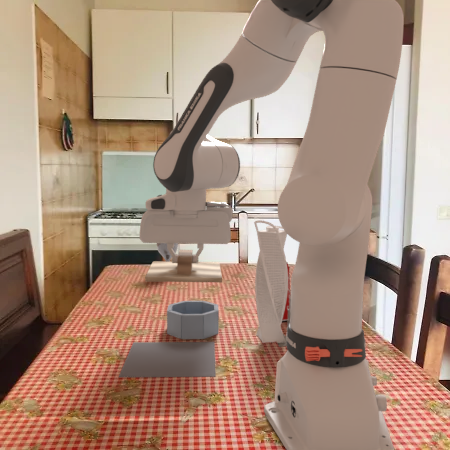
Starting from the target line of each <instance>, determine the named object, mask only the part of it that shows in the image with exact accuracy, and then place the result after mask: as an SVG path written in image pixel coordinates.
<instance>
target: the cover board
mask: <svg viewBox="0 0 450 450" xmlns="http://www.w3.org/2000/svg"><path fill="white" fill-rule="evenodd" d="M177 254H178V261H177V263H172V261H170V262H166V261H165V260H164V261H163V260H161V261H157V260H155V261H152V263H151V265H150V267H149V269H148V270H147V273H146V275H145V277H144V279H145V281H144V282H149V283H150V282H151V283H152V282H159V283H161V282H162V283H166V282H167V283H168V282H169V283H223V276H222V270H221V265H220V261H217V262H216V261H214V262H213V261H211V262H210V261H198V263H192V255H193V249H179V251H178V253H177Z"/></svg>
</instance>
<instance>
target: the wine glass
mask: <svg viewBox="0 0 450 450" xmlns="http://www.w3.org/2000/svg"><path fill="white" fill-rule="evenodd" d="M178 247H179V243H174V247H173V248H172V249H173V251H174V252H175V254H176V252H177V251H178V249H179V248H178ZM156 248H157V251H158V253H159V254H160V255H161V256H162V258H163V259H164V262H171V260H172V256H171V254H170V252H169V250H168V249H167V243H156Z"/></svg>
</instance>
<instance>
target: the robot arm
mask: <svg viewBox="0 0 450 450" xmlns="http://www.w3.org/2000/svg"><path fill="white" fill-rule="evenodd" d="M404 23H405V22H404V12H403V9H402V7H401V5H400V4H399V2H398V1H397V0H258V1H257V3H256V4H255V7H254V8H253V9H252V11H251V13H250V15H249V18H248V19H247V21H246V22H245V25H244V27H243V30H242V32H241V34H240V36H239V38H238V39H237V42H236V43H235V44H234V46H233V48H232V49H231V50H230V51H229V53H228V54H227V55H226V56H225V57H224V58H223V59H222V61H221V62H220V63H218V64H216V65H215V66H213V67H212V68H211V69H210V70H209V71H208V72H207V74H205V76H204V78H203V79H202V81H200V82H201V83H200V84H199V86H198V87H197V89H196V90H195V92H194V94H193V96H192V97H191V99H190V101H189V102H188V104H187V106H186V107H185V109H184V111H183V113H182V114H181V116H180V118H179V119H178V121H177V122H176V125H175V126H174V128H173V129H172V130H171V131H170V133H169V135H168V136H167V137H166V138H165V139H164V141H163V142H162V143H161V144H160V146H159V147H158V148H157V150H156V152H155V154H154V158H153V163H152V167H153V172H154V175H155V177H156V179H157V180H158V182H159V184H161V185H162V186H163V187H164V188H165V190H166V191H165V194H159V195H157V196H154V197H150V198H148V199H147V200H146V201H145V209H146V211H145V212H143V214H142V217H141V220H140V225H139V226H140V227H139V239H140V242H142V243H144V244H157V243H167V249H168V250H169V252H170V254H171V256H172V258H171V262H172V263H177V261H178V254H179V253H177V254H176V253H175V252H174V251H173V249H172V248H173V247H174V243H178V244H190V245H191V244H194V245H195V244H197V246H196V247H197V249H198V250H197V252H196V253H195V254H194V253H192V263H198V262H199V257H200V255H201V254H202V252H203V250H204V247H205V245H206V244H208V245H228V244H229V243H230V242H231V240H232V237H231V236H232V235H231V234H232V232H231V224H230V223H231V222H232V220H233V215H234V213H233V212H234V211H233V207H232V206H231V205H229V204H227V202H224V201H222V202H215V201H207V190H210V189H214V190H215V189H224V188H229V187H231V186H232V185H233V184H234V183H235V182H236V181H237V179H238V177H239V174H240V170H241V160H240V156H239V153H238V152H237V150H236V148H235V147H234V146H232V145H231V144H228V143H227V142H226V143H225V142H222V141H220V140H218V139H215V138H214V137H212V136H211V135H209V133H210V131H211V130H212V128H213V127H214V124H215V123H216V121H217V120H218V118H219V117H220V116H221V115H222V114H223V113H224V112H225V111H227V110H229V108H232V107H233V106H236V105H238V104H241V103H243V102H246V101H250V100H254V99H259V98H263V97H266V96H270V95H272V94H273V93H275V92H277V91H278V90H280V88H281V87H282V86H283V85H284V84H285V83H286V82H287V80H288V79H289V77H290V75H291V74H292V72H293V70H294V68H295V66H296V64H297V63H298V61H299V58H300V56H301V54H302V52H303V49H304V47H305V45H306V44H307V42H308V40H309V39H310V38H311V36H313V35H315V34H316V33H319V32H322V33H323V34H324V47H323V51H322V55H321V61H320V64H319V69H318V74H317V80H316V85H315V89H314V95H313V99H312V104H311V109H310V113H309V118H308V123H307V126H306V129H305V132H304V135H303V138H302V140H301V143H300V145H299V148H298V151H297V154H296V156H295V160H294V162H293V165H292V169H291V171H290V174H289V177H288V180H287V183H286V184H285V187H284V188H283V190H282V191H281V194H280V195H279V198H278V202H277V217H278V221H279V223H280V226H281V227H283V229H282V230H285V232H286V233H287V235H288V236H289V237H290V238H291V239H293V240H294V241H296V242H298V243H299V246H298V251H297V255H296V260H295V264H294V268H293V271H292V274H291V276H290V295H291V306H290V323H289V325H288V327H287V326H286V335H285V336H286V340H287V346H286V349H287V351H286V353H284V355H283V356H282V357H280V359H279V360H278V361H277V362H276V373H275V386H274V387H275V388H274V389H275V391H274V400H273V401H270V402H269V403H268V402H267V403H266V404H265V405H264V408H263V412H264V416H265V417H266V419H267V421H268V422H269V424H270V425H271V427H272V428H273V430H274V432H275V434H276V435H277V437H278V439H279V440H280V441H281V443H282V445H283V447H285V449H286V450H395V448H394V444H393V442H392V438H391V435H390V433H389V428H388V425H387V422H386V419H385V416H384V412H386V411H387V410H388V409H387V407H388V401H387V396H386V395H385V394H376V392H375V387H376V386H377V385H378V379H377V376H373V375H371V372H370V367H369V366H370V365H369V364H370V363H369V360H368V359H367V358H366V357H367V355H366V354H367V353H366V348H367V347H366V338H365V332H364V329H363V309H364V307H363V306H364V305H363V304H364V301H363V300H364V284H365V274H366V267H367V259H368V253H369V252H368V250H369V243H370V235H371V226H372V225H371V224H372V212H373V195H372V192H371V189H370V187H369V184H368V183H369V180H370V176H371V173H372V171H373V170H372V169H373V168H374V164H375V162H376V157H377V154H378V152H379V148H380V146H381V142H382V141H383V138H384V136H385V131H386V129H387V128H386V126H387V123H388V120H389V119H388V118H389V113H390V109H391V106H392V101H393V96H394V92H395V88H396V83H397V79H398V74H399V70H400V64H401V59H402V58H401V57H402V49H403V43H404V41H403V39H404Z"/></svg>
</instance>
